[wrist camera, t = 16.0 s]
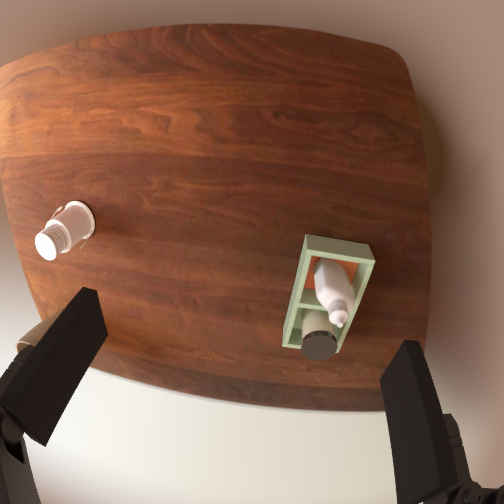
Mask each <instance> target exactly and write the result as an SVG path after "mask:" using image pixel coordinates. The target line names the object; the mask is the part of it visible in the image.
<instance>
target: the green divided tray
mask: <svg viewBox="0 0 504 504" xmlns="http://www.w3.org/2000/svg"><path fill="white" fill-rule="evenodd" d="M320 258H328V259H331V260H333V261H335V262H337V263H338V264H340V265H341V266H342V267H343V268H344V270H345V271H346V273H347V275H348V278H349V282H350V286H351V290H352V294H353V298H354V303H355V306H354V308H353V309H352V310H351V311H350V312H349V313H348V315H349V317H348V320H347V321H346V322H345V323H343V326H342V327H341V328H339V327H337V325H336V324H334V327H335V334H336V339H337V345H338V348H337V351H336V353H338V352H339V350H340V348H341V345H342V343H343V341H344V339H345V336H346V334H347V332H348V330H349V327H350V325H351V323H352V320H353V318H354V315H355V313H356V310H357V308H358V306H359V303H360V301H361V298H362V296H363V293H364V290H365V288H366V285H367V283H368V280H369V277H370V275H371V272H372V269H373V266H374V263H375V259H374V256H373V254H372V252H371V250H370V247H369V245H367V244H362V243H356V242H350V241H345V240H339V239H333V238H327V237H321V236H315V235H309V234H305V239H304V244H303V248H302V253H301V257H300V261H299V266H298V270H297V274H296V279H295V283H294V287H293V291H292V295H291V299H290V303H289V308H288V312H287V316H286V319H285V323H284V327H283V344H282V346H283V347H290V348H298V349H301V341H302V330H301V312H302V309H303V308H308V309H316V310H323V311H328V310H327V309H325V308H324V307H323V306H322V305H321V303H320V302H319V300H318V298H317V296H316V289H315V280H314V270H313V266H314V265H315V263H316V262H317V261H318V260H319V259H320Z"/></svg>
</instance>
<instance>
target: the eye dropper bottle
mask: <svg viewBox="0 0 504 504" xmlns="http://www.w3.org/2000/svg"><path fill="white" fill-rule="evenodd" d="M313 270H314V280H315V289H316V296H317V298H318V300H319V302H320V303H321V305H322V306H323V307H324V308H325V309H327V310H328V314H329V320H330V322H331V323H333V324H336V325H337V327H339V328H341V327H342V326H343V323H345V322H346V321H347V320H348V317H349V315H348V313H349V312H350V311H351V310H352V309H353V308H354V306H355V303H354V298H353V294H352V290H351V286H350V282H349V278H348V275H347V273H346V271H345V270H344V268H343V267H342V266H341V265H340V264H338V263H337V262H335V261H333V260H331V259H328V258H320V259H319V260H318V261H317V262H316V263H315V265H314V266H313Z"/></svg>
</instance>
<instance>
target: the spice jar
mask: <svg viewBox="0 0 504 504" xmlns="http://www.w3.org/2000/svg"><path fill="white" fill-rule="evenodd" d="M301 330H302V341H301V352H302V354H303V355H304V356H305V357H306V358H308V359H311V360H324V359H327V358H330V357H331V356H333V355H334V354H335V353H336V351H337V348H338V345H337V339H336V334H335V327H334V324H333V323H331V322H330V320H329V314H328V311H323V310H316V309H308V308H303V309H302V312H301Z"/></svg>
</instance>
